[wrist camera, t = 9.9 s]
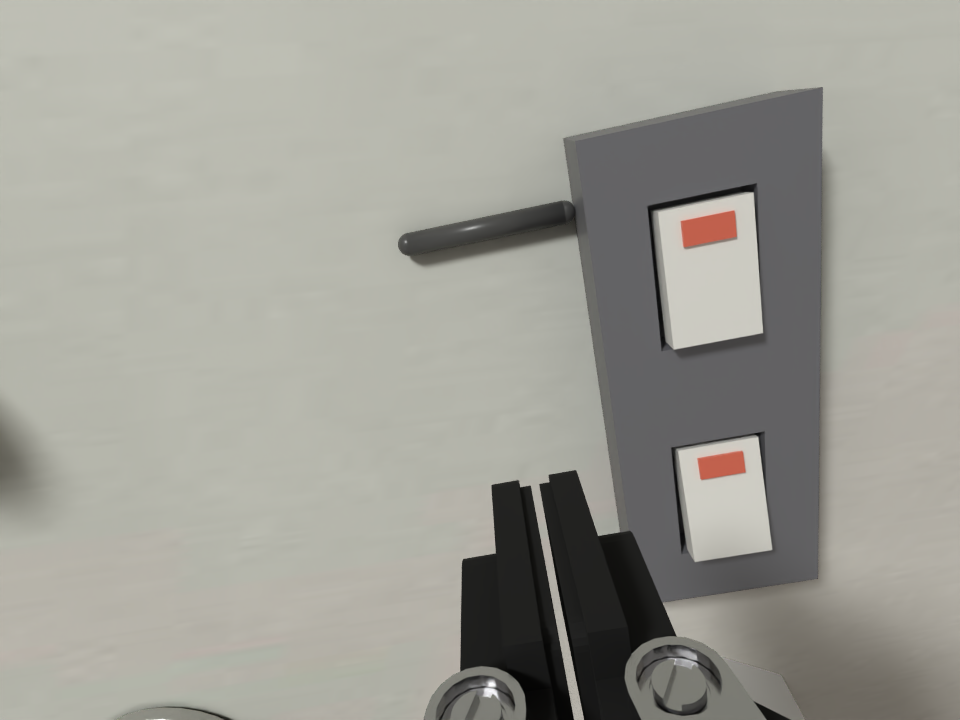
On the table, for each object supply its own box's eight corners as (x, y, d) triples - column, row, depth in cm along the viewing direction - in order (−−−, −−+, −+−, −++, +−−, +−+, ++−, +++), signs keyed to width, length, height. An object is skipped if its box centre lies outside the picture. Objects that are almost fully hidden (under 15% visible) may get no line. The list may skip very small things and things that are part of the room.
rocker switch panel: (785, 533, 33) (817, 578, 30) (486, 580, 34) (487, 628, 31) (777, 91, 25) (822, 87, 21) (382, 177, 26) (368, 186, 23)
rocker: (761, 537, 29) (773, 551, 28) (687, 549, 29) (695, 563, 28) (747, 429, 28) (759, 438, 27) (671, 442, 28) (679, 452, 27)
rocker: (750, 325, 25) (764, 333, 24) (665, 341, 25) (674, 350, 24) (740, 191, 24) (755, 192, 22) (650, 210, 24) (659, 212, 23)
